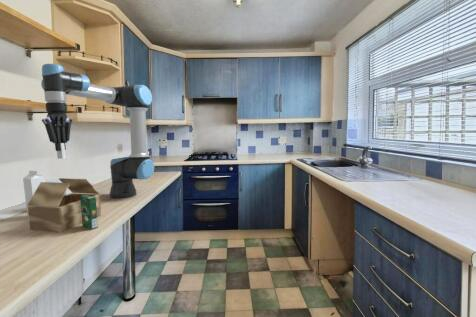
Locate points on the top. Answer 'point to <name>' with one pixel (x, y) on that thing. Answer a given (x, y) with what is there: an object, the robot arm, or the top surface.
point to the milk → (31, 185)
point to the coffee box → (89, 211)
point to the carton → (60, 214)
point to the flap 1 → (49, 194)
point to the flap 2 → (79, 186)
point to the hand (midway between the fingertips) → (61, 158)
